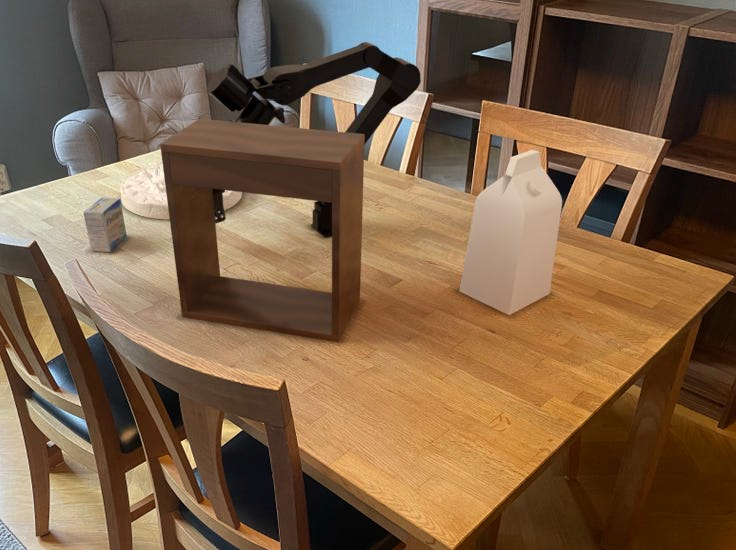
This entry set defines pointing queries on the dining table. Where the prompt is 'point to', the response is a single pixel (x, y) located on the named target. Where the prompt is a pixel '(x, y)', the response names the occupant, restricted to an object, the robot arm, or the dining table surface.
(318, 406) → the dining table surface
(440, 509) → the dining table surface
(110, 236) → the medicine box
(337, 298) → the brown wooden cubby shelf
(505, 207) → the milk
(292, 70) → the robot arm
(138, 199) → the cake
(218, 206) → the black rounded piece
